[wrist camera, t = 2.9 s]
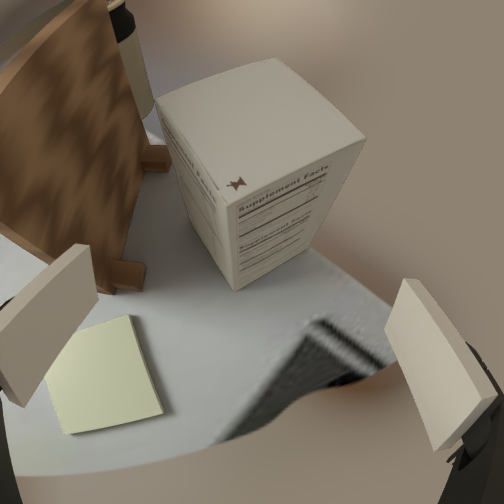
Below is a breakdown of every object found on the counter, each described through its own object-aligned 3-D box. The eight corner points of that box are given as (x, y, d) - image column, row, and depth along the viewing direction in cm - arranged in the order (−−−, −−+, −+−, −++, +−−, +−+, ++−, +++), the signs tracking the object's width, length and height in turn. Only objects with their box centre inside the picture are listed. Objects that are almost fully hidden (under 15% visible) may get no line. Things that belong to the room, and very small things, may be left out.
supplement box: (311, 247, 31) (375, 141, 15) (234, 295, 29) (229, 214, 13) (260, 179, 33) (277, 52, 17) (187, 217, 31) (150, 95, 15)
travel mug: (161, 114, 36) (134, -1, 19) (107, 139, 35) (59, 31, 18) (146, 86, 39) (122, -14, 22) (98, 107, 37) (60, 12, 20)
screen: (116, 150, 34) (54, 4, 13) (174, 150, 34) (137, -18, 13) (74, 288, 28) (-83, 185, 7) (140, 299, 28) (-17, 177, 7)
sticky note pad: (40, 345, 25) (37, 345, 25) (130, 315, 27) (128, 314, 27) (68, 433, 22) (64, 434, 22) (164, 412, 24) (162, 413, 24)
